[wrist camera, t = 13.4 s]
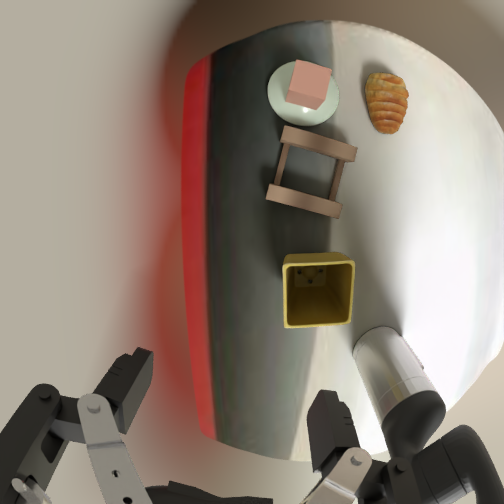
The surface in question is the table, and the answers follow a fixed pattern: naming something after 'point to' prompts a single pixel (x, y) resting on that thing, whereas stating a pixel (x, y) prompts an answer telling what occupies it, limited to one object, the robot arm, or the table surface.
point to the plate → (295, 112)
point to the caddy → (320, 146)
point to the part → (308, 85)
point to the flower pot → (317, 289)
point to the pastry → (386, 101)
